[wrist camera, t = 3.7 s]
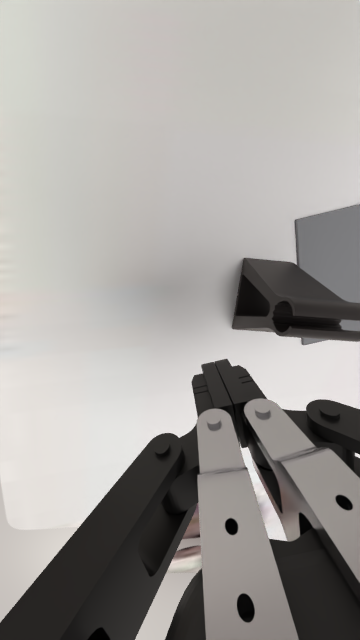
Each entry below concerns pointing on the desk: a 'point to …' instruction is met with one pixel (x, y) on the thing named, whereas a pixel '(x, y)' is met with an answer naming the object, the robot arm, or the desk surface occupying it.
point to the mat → (332, 255)
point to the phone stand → (290, 303)
